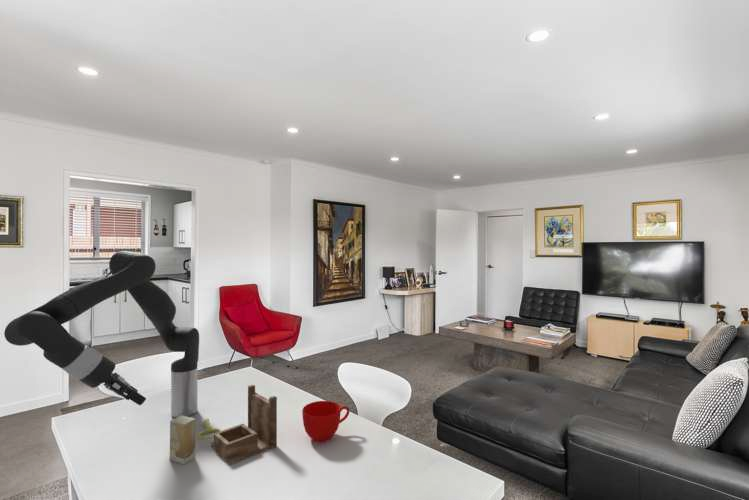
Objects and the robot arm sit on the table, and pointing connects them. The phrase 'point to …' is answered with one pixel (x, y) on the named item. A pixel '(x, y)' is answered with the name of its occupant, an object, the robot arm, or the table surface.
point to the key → (207, 430)
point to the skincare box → (182, 439)
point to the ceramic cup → (322, 419)
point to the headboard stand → (250, 430)
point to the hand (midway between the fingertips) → (139, 397)
